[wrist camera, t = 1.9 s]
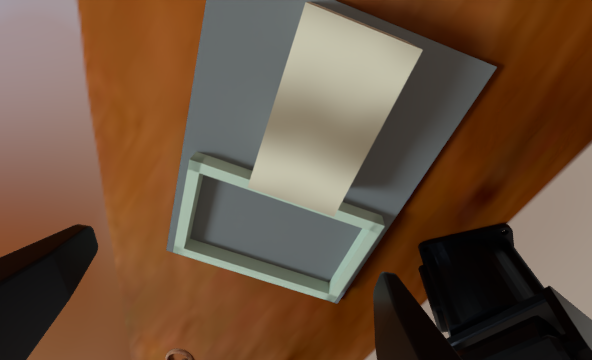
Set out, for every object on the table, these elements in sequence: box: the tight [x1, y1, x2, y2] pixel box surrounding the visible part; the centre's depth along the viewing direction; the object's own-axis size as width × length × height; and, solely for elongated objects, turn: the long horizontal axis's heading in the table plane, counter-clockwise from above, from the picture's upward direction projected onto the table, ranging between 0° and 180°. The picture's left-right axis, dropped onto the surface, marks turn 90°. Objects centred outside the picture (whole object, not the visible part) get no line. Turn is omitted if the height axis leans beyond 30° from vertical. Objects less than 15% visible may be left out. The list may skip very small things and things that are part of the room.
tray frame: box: [173, 152, 385, 302], centre depth 23 cm, size 9×14×1 cm, turn 71°
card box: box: [248, 2, 423, 217], centre depth 17 cm, size 10×6×4 cm, turn 161°
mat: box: [166, 0, 497, 303], centre depth 22 cm, size 22×16×1 cm
